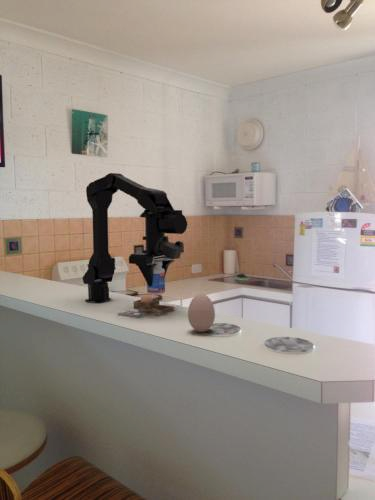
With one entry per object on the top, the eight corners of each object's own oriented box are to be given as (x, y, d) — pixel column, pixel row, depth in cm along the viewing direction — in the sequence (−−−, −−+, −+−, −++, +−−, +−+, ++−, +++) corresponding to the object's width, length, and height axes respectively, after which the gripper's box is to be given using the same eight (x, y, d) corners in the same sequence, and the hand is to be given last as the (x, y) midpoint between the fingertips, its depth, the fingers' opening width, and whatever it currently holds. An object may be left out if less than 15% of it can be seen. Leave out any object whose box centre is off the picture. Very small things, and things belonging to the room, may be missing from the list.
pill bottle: (162, 295, 136) (161, 262, 135) (145, 294, 137) (144, 262, 136) (167, 291, 142) (166, 259, 140) (150, 291, 143) (149, 259, 141)
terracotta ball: (137, 308, 145) (137, 295, 144) (145, 305, 148) (145, 293, 148) (147, 309, 143) (147, 296, 142) (155, 307, 146) (155, 294, 146)
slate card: (118, 315, 136) (118, 313, 136) (128, 311, 140) (128, 310, 140) (137, 317, 132) (137, 316, 132) (147, 314, 137) (147, 312, 137)
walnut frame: (133, 308, 144) (133, 301, 144) (144, 305, 149) (144, 298, 149) (148, 310, 141) (148, 303, 141) (159, 306, 146) (159, 299, 146)
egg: (215, 335, 113) (215, 296, 112) (187, 335, 113) (187, 296, 113) (214, 328, 120) (214, 291, 119) (188, 328, 120) (187, 291, 119)
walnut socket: (138, 312, 138) (138, 308, 138) (153, 307, 145) (153, 304, 145) (159, 315, 134) (159, 311, 134) (174, 310, 141) (174, 306, 141)
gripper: (159, 235, 125) (160, 292, 127) (194, 231, 141) (194, 282, 143) (127, 234, 131) (128, 288, 133) (164, 231, 147) (164, 279, 149)
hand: (155, 284), depth 139 cm, fingers closed on pill bottle, 5 cm apart
